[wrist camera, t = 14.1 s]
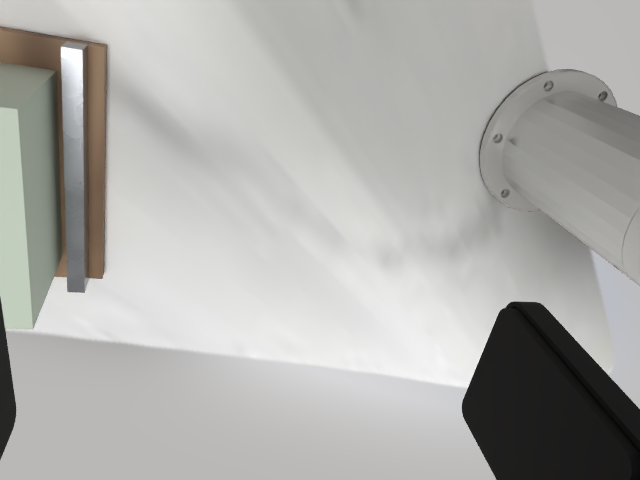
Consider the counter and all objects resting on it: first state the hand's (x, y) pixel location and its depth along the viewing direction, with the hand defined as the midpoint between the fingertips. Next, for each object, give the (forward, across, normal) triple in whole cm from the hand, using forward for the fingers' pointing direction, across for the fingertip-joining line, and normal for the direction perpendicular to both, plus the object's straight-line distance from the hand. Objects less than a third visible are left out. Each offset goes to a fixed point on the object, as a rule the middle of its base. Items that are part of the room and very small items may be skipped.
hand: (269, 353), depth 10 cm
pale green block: (+29, +13, +9) cm, 33 cm away
